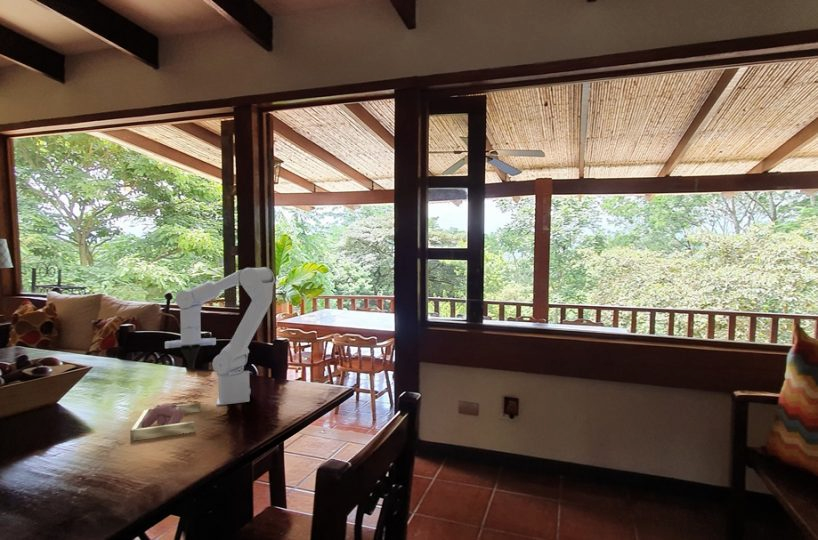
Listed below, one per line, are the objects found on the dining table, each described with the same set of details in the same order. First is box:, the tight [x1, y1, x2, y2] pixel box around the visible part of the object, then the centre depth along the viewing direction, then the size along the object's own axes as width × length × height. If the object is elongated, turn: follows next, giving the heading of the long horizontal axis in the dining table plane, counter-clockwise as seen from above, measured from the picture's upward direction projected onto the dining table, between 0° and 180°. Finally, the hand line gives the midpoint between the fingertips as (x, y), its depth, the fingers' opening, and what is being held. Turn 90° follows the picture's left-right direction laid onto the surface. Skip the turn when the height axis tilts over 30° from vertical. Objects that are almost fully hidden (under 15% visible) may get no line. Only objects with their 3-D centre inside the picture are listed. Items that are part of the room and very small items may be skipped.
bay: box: [129, 401, 202, 442], centre depth 110 cm, size 14×16×2 cm
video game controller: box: [142, 403, 186, 428], centre depth 109 cm, size 10×5×7 cm, turn 71°
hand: (191, 368), depth 132 cm, fingers closed
